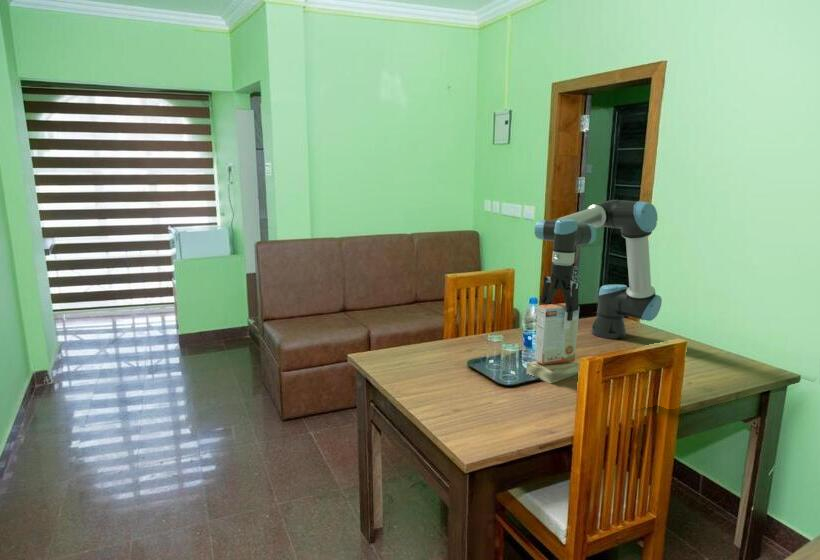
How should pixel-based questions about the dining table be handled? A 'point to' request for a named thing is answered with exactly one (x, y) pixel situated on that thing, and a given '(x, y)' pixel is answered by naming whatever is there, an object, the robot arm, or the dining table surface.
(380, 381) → the dining table surface
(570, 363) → the stack of paper napkins
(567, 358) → the cracker box
